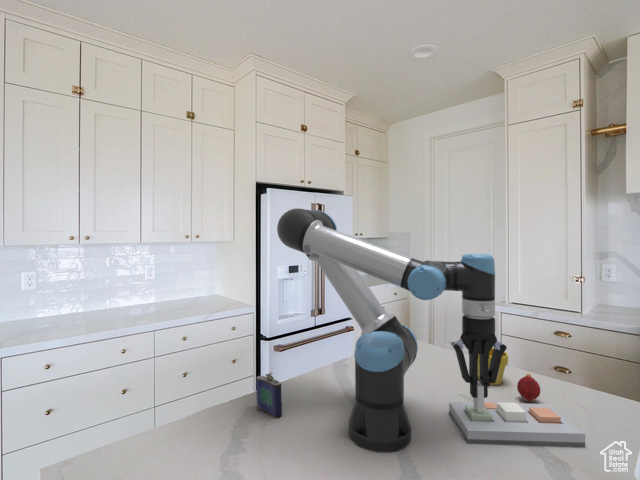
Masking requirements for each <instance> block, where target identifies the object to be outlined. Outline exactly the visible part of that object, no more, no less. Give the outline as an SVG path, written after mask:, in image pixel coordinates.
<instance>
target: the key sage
mask: <svg viewBox="0 0 640 480" xmlns="http://www.w3.org/2000/svg"><path fill="white" fill-rule="evenodd" d="M465 413H466V415H467V416H468V418H469V419H470V421H483V422H492V415H491V414H490V412H489V411H488V410H487V409H486V408H485V407H484V413H479V412H477V411H476V409H475V408H474V406H465Z"/></svg>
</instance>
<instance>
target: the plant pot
mask: <svg viewBox="0 0 640 480" xmlns="http://www.w3.org/2000/svg"><path fill="white" fill-rule="evenodd" d="M493 350H494V347H492V349H491V350H490V351H489V358H488V370H489V366H490V362H491V358H492V354H493ZM508 364H509V354H508V352H506V351H505V352H504V353H503V355H502V358H501V363H500V367H499V371H498V375H497V379H496V382H495V383H490V385H491V386H499V385H501V384H502V382H503V376H504V375H505V374H504V373H505V370H506V367H507V366H508ZM478 381H480V362H479V354H478Z"/></svg>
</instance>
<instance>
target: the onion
mask: <svg viewBox="0 0 640 480" xmlns="http://www.w3.org/2000/svg"><path fill="white" fill-rule="evenodd" d="M516 390H517V392H518V393H519V395H520V396H521V398H522V399H524V400H525V401H527V402H532V401H535V400H537V398H538V397H540V395H541V387H540V384H539V383H538V381H537V380H536V379H535V378H533V377H532V375H531V374H530V373H529V372H527V373H526V375H525V376H523V377H522V378H520V379H519V380H518V381H517V384H516Z"/></svg>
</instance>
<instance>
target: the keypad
mask: <svg viewBox="0 0 640 480" xmlns="http://www.w3.org/2000/svg"><path fill="white" fill-rule="evenodd" d="M448 404H449V406H448V407H449V409H448V410H449V411H448V412H449V414H450V416H451V418H452V420H453V421H454V423H455V425H456V426H457V427H458V429H459V431H460V433H461V435H463V438H464V440H465V441H466V442H467V444H471V445H472V444H473V445H474V444H477V445H478V444H480V445H505V446H508V445H510V446H511V445H514V446H540V447H542V446H543V447H544V446H546V447H573V448H574V447H575V448H576V447H579V448H583V447H584V448H585V447H586V433H585V432H584V431H583V430H581V429H580V428H579V427H578V426H576V425H575V424H574V423H572V421H570V419H569V420H568V418H566V417H565V416H564V415H562V414H561V413H560V412H559V411H558V410H557V409H556V408H554V407H553V406H552V405H550V404H549V403H517V404H518V405H519V406H520V407H521V408H522V409H523V410H524V411H525V412H526V423H520V422H504V421H503V419H502V418H501V417H500V416H499V415H498V414H497V402H485V401H484V407H485V408H486V409H487V410H488V411H489V412H490V414H491V415H492V422H483V421H470V419H469V418H468V416H467V415H466V413H465V406H474V401H473V402H469V401H468V402H467V401H466V402H465V401H463V402H462V401H461V402H460V401H449V403H448ZM529 407H540V408H550V409H551V410H552V411H553V412H555V413H556V414H557V415H558V416H559V417H561V424H558V423H539V422H538V421H537V420H535V419H534V418H533V417H532V416H531V415H530V414H529Z"/></svg>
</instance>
